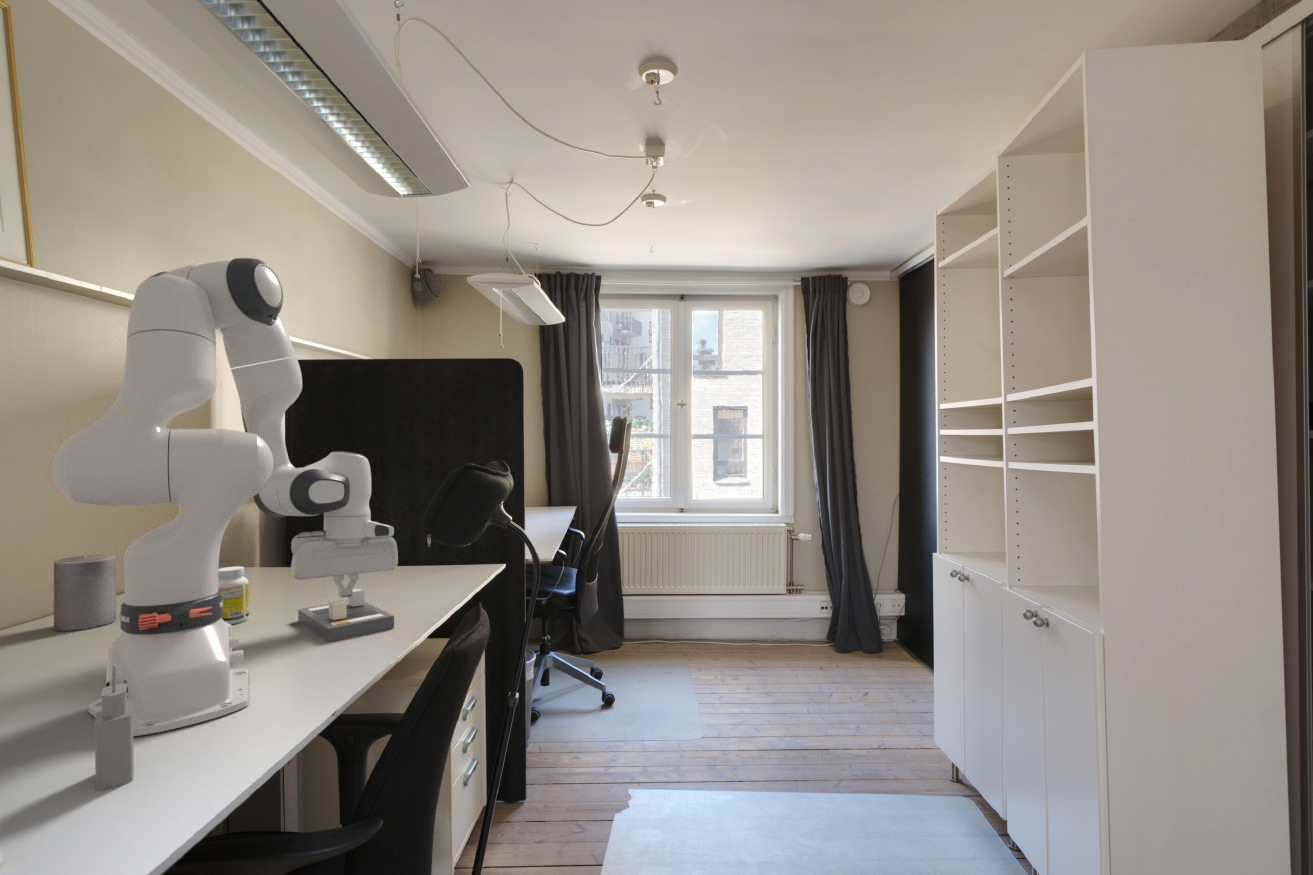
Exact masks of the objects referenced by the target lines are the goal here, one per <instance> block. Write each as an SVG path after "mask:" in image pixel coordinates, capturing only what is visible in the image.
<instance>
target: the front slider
mask: <svg viewBox="0 0 1313 875" xmlns="http://www.w3.org/2000/svg"><path fill="white" fill-rule="evenodd" d="M328 604H329V618H330V619H332V620H338V619H343V618H346V602H344V600H342V599H340V600H336V601H330V602H329V601H328Z"/></svg>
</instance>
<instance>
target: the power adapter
mask: <svg viewBox="0 0 1313 875" xmlns="http://www.w3.org/2000/svg"><path fill="white" fill-rule="evenodd" d="M100 699H102V707H101V708H99V709H97V712H96V718H95V717H94V718H95V719H94V754H95V755H94V762H95V764H94V767H95V768H94V770H95V771H94V772H95V776H94V777H95V780H94V781H95V790H96V791H104V790H105V791H106V790H108V789H113V788H115V787H119V786H123V785H126V784H129V783H131V782H132V781H134V771H135V770H134V769H135V766H134V765H135V762H134V760H135V759H134V758H135V755H134V736H133V702H127V685H126V684H116V666H113V671H112V685H110V686H108V687H106V686H105V687H104V688H102V690H101V697H100Z"/></svg>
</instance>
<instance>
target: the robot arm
mask: <svg viewBox="0 0 1313 875" xmlns="http://www.w3.org/2000/svg"><path fill="white" fill-rule="evenodd" d="M283 291H284V290H283V287H282V283H281V280H280V278H279V277H278V274H276V272H275V271H274V269H272V268H271V267H270V266H269V265H268V264H266V262H264V261H263V260H260V259H257V258H252V257H251V258H249V257H236V258H233V259H231V260H222V261H221V260H220V261H213V262H206V263H205V262H204V263H202V262H201V263H199V262H198V263H194V264H190V265H186V266H182V267H178V268H175V269H173V270H170V271H160V272H157V273H155V274H154V275H151V276H149V277H147V278H146V279H144V280H143V281H142V282H140V284H139V285H138V286H137V288H136V291H135V293H134V297H133V299H132V302H131V308H130V310H129V311H130V312H129V317H128V324H127V331H126V333H127V334H126V353H125V363H124V364H125V366H124V372H123V374H124V375H123V380H122V385H121V389H120V390H119V393H118V396H117V397H116V399H115V401H114V403H112V404H111V406H110V408H109V409H108V410H107V411H106V412H105V413H104V414H103V415H102V416H101V417H100V418H99V419H96V421H95V422H94V423H92V424H91V425H89V426H87V427H86V428H84V429H82V430H80V431H79V432H77V433H74V434H72V435H71V436H69V438H67V439H66V440H65V441H63V443H61V445H60V446H59V447H58V449H57V451H56V452H55V454H54V456H53V459H52V462H51V463H52V464H51V473H52V479H53V481H54V483H55V485H56V487H57V488H58V489H59V491H60V493H62V495H63V496H65V497H66V498H68V499H69V500H70V501H71V502H73V503H78V504H79V503H81V504H88V505H98V506H100V505H101V506H109V507H111V506H112V507H119V506H122V507H123V506H139V505H140V506H141V505H157V504H158V505H159V504H175V505H177V506H178V507H179V510H178V514H177V515H176V516H175V518H173V519H172V520H171V521H169V522H166V523H165V524H163V525H160V526H158V527H155V528H154V529H151V530H149V531H147V532H146V533H144V534H142V535H140V536H139V537H137V538H135V539H134V540H133V541H132V542H131V543H130V544H129V545H128V547H127V549H126V550H125V553H124V556H123V565H124V566H123V570H124V571H123V573H124V574H123V576H124V577H123V578H124V579H123V580H124V589H123V590H124V591H123V592H124V601H123V603H121V604H120V612H119V620H120V629H121V631H122V632H121V634H120V635H119V636H118V638H116V639H115V641H113V642H112V643H111V644H110V645H108V646H107V650H106V685H105V687H108V686H110V685H112V671H113V666H116V684H126V685H127V702H133V737H137V736H138V737H139V736H144V735H151V734H154V733H155V734H156V733H161V732H165V731H167V732H168V731H171V730H174V729H175V730H176V729H179V728H182V727H183V728H184V727H187V726H191V725H194V724H199V723H202V722H206V721H210V720H212V719H216V718H219V717H222V716H223V717H224V716H225V715H228V714H231V713H234V712H236V711H238V710H241V709H243V708H245V707H247V706H248V705H249V703H250V702H249V701H250V672H249V669H248V668H238V667H243V666H244V665H245V662H244V661H245V659H244V658H245V657H244V655H245V654H244V651H245V650H243V649H239V650H235V651H234V650H233V648H235V647H238V644H239V638H238V636H232V633H233V632H232V631H233V629H232V628H233V624H231V625H230V624H229V623H227V622H225V621H224V620H223V619H222V618H221V617H222V616H223V607H222V606H223V599H222V594H221V591H219V590H218V579H219V577H218V569H219V566H220V565H219V564H220V554H221V545H222V542H223V541H222V540H223V536H224V534H225V531H226V529H227V527H228V526H229V524H230V521H231V520H232V518H233V517H234V515H235V514H236V513H237V512H238V511H239V510H240V508H241V507H242V506H244V504H246V503H247V502H248V501H249V500H250V499H253V500H254V503H255V505H256V506H257V508H258V509H259V510H260V511H261V512H262V513H264V514H266V515H268V516H271V517H273V518H275V517H276V518H282V517H290V516H291V517H315V516H318V515H321V514H323V530H317V531H310V532H309V531H303V532H300V533H298V534H296V535H295V536H294V537H293V538H292V540H291V542H290V544H291V545H290V546H291V547H290V549H291V550H290V551H291V553H292V557H291V558H292V559H291V564H290V575H291V576H292V577H293V578H294V579H295V580H298V581H299V580H311V579H319V578H328V577H329V578H330V577H332V578H333V579H332V580H333V582H334V584H335V586H337V588H338V597H339V598H341V599H342V598H348V597H350V596H352V590H354V589H353V588H354V587H355V585H356V584H357V582H358V581H359V575H360V574H366V573H367V574H368V573H376V572H388V571H394V570H395V569H396V568H397V566H398V564H399V556H398V553H399V552H398V545H397V541H396V540H395V538H393V536H394V534H395V528H394V526H391V525H388V524H384V523H380V522H379V521H376V520H375V521H372V520H371V518H372V516H371V515H372V513H371V508H370V499H371V497H372V472H371V465H370V462H369V459H368V458H367V457H366V456H364V455H363V454H360V453H356V452H350V451H343V450H341V451H340V450H335V451H331V452H330V453H329V454H328V455H327V456H325V457H323V458H322V459H320V460H318V461H316V462H313V463H311V464H308V465H305V466H304V467H295V466H294V465H293V464H292V463H291V461H290V458H289V455H288V451H287V450H288V449H287V446H286V441H285V437H284V434H283V428H282V427H283V426H282V423H283V421H282V420H283V417H284V414H285V413H286V411H287V410H288V408H290V406H292V405H293V404H294V403H295V402H296V400H298V398H299V396H300V394H301V393H302V389H303V376H302V375H303V374H302V371H301V370H302V369H301V366H300V363H299V361H298V357H297V354H296V350H295V349H294V346H293V343H292V341H291V338H290V336H289V333H288V330H287V329H286V327H285V325H284V323H283V322H282V319H281V318H280V316H279V314H280V313H281V310H282V307H283V303H284V292H283ZM218 329H219V332H220V333H221V335H222V340H223V346H224V350H225V354H226V358H227V361H228V365H229V368H230V371H231V374H232V375H231V376H232V377H233V380H234V383H235V387H236V390H237V394H238V400H239V404H240V411H241V419H242V423H243V429H244V431H240V430H234V429H233V430H232V429H226V428H167V426H168V425H169V423H170V422H171V421H172V420H173V419H175V418H176V417H177V416H179V415H181V414H183V413H185V412H188V411H192V410H194V409H197V408H199V407H201V406H203V405H204V404H206V403H207V402H208V401H210V399H211V398H212V397H213V395H214V394H215V392H216V390H217V336H216V330H218ZM344 576H348V579H349V581H348V584H347V585H346V586H344V584H343V581H345V577H344ZM101 707H102V699H101V698H98V699H96V700H94V701H92V702H91V703H89V704H88V710H87V711H88V713H89V714H90V715H92V716H93V717H94V718H96V712H97V709H99V708H101Z"/></svg>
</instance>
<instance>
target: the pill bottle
mask: <svg viewBox="0 0 1313 875" xmlns="http://www.w3.org/2000/svg"><path fill="white" fill-rule="evenodd" d="M244 574H245V567H244V566H238V565H236V566H228V567H222V568H218V590H219V591H221V594H222V599H223V606H222V607H223V616H222V617H221V618H222V619H223V620H224V621H225V622H227V623H229V624H230V625H236V624H240V623H243V622H246V621H247V620H249V618H250V594H249V586H250V585H249V584H250V582H249V580H248V578H247V577H245V576H244Z"/></svg>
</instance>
